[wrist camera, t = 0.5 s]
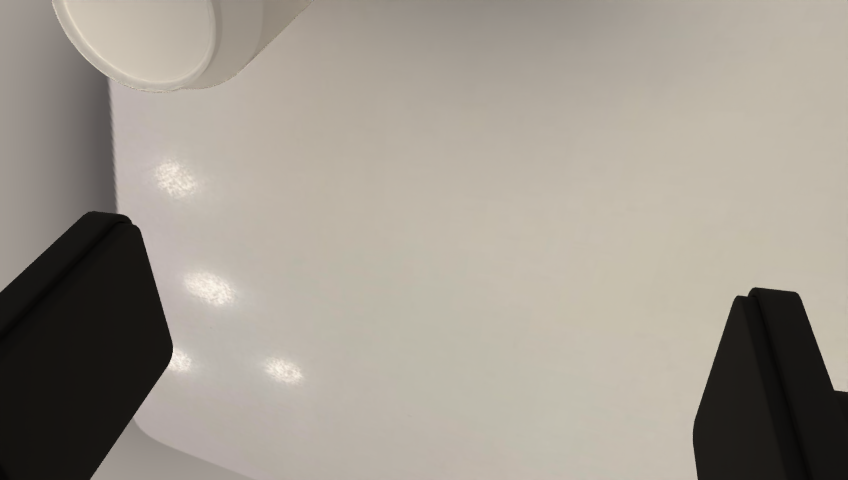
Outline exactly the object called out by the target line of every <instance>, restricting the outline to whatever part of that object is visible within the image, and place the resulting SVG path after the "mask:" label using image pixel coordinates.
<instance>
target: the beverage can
mask: <svg viewBox="0 0 848 480" xmlns="http://www.w3.org/2000/svg"><path fill="white" fill-rule="evenodd" d="M51 1H52V4H53V8H54V10H55V13H56V16H57V18H58V20H59V22H60V24H61V26H62V28H63V30H64V31H65V33H66V35H67V36H68V38H69V39H70V41H71V42H72V43H73V45H74V46H75V47H76V48H77V50H78V51H79V52H80V53H81V54H82V55H83V56H84V57H85V58H86V59H87V60H88V61H89V62H90V63H91V64H92V65H93V66H94V67H96V68H97V69H98V70H99V71H101V72H102V73H103V74H105V75H106V76H108V77H110V78H111V79H113V80H115V81H117V82H119V83H121V84H123V85H125V86H128V87H130V88H133V89H137V90H141V91H146V92H155V93H162V92H171V91H175V90H178V89H203V88H208V87H212V86H216V85H218V84H221V83H223V82H225V81H227V80H229V79H230V78H232V77H233V76H235V75H236V74H237V73H239V72H240V71H241V70H242V69H243V68H244V67H245V66H246V65H247V64H248V63H249V62H250V61H251V60H252V59H253V58H254V57H255V56H257V55H258V54H259V53H260V52H261V51H262V50H263V49H264V48H265V47H266V46H267V45H268V44H269V43H270V42H271V41H272V40H273V39H274V38H275V37H276V36H277V35H278V34H279V33H280V32H281V31H282V30H283V29H284V28H285V27H287V26H288V25H289V24H290V23H291V22H292V21H293V20H294V19H295V18H296V17H297V16H298V15H299V14H300V13H301V12H302V11H303V10H304V9H305V8H306V7H307V6H308V5H309V4H310V3H311V2H312V1H313V0H51Z"/></svg>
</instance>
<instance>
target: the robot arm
mask: <svg viewBox="0 0 848 480" xmlns="http://www.w3.org/2000/svg"><path fill="white" fill-rule="evenodd" d="M172 353H173V344H172V339H171V336H170V332H169V329H168V325H167V322H166V318H165V315H164V311H163V308H162V304H161V301H160V297H159V294H158V290H157V287H156V283H155V280H154V276H153V273H152V269H151V266H150V262H149V259H148V255H147V252H146V248H145V245H144V241H143V238H142V234H141V232H140V229H139V228H138V227H137V226H136V225H133V224H132V222H131V220H130V219H129V218H128V217H127V216H125V215H122V214H113V213H105V212H96V211H92V212H88V213H86V214H85V215H83V216H82V217H81V218H80V219H79V220H78V221H77V222H76V223H75V224H73V226H71V227H70V228H69V229H68V230H67V231H66V232H65V233H64V234H63V235H62V236H61V237H59V238H58V239H57V240H56V241H55V242H54V243H53V244H52V245H51V246H50V247H49V248H48V249H47V250H46V251H44V252H43V253H42V254H41V255H40V256H39V257H38V258H37V259H36V260H35V261H34V262H33V263H32V264H30V265H29V266H28V267H27V268H26V269H25V270H24V271H23V272H22V273H21V274H20V275H19V276H18V277H17V278H15V279H14V280H13V281H12V282H11V283H10V284H9V285H8V286H7V287H6V288H5V289H4V290H3V291H1V292H0V480H90V479H91V477H92V476H93V474H94V473H95V471H96V470H97V468H98V467H99V465H100V464H101V463H102V461H103V460H104V458H105V457H106V455H107V454H108V452H109V451H110V449H111V448H112V447H113V445H114V444H115V442H116V441H117V439H118V438H119V436H120V435H121V433H122V432H123V430H124V429H125V427H126V426H127V425H128V423H129V422H130V420H131V419H132V417H133V416H134V414H135V413H136V411H137V410H138V409H139V407H140V406H141V404H142V403H143V401H144V400H145V398H146V397H147V395H148V394H149V392H150V391H151V390H152V388H153V387H154V385H155V384H156V382H157V381H158V379H159V378H160V376H161V375H162V373H163V372H164V371H165V369H166V368H167V366H168V364H169V363H170V360H171V357H172ZM693 447H694V454H695V462H696V469H697V476H698V480H848V392H843V391H835V390H834V389H833V386H832V383H831V380H830V378H829V375H828V372H827V369H826V367H825V364H824V361H823V358H822V356H821V353H820V350H819V347H818V345H817V342H816V339H815V336H814V334H813V331H812V328H811V325H810V322H809V320H808V317H807V314H806V311H805V309H804V306H803V303H802V300H801V298H800V296H799V294H798V293H796V292H792V291H783V290H774V289H765V288H757V287H755V288H752V290H751V291H750V292H749V294H748V297H747V296H736V298H735V299H734V301H733V304H732V307H731V310H730V313H729V316H728V319H727V322H726V325H725V329H724V332H723V335H722V338H721V341H720V344H719V347H718V350H717V353H716V356H715V359H714V362H713V365H712V368H711V372H710V375H709V378H708V381H707V384H706V387H705V390H704V393H703V396H702V399H701V402H700V405H699V408H698V411H697V414H696V418H695V421H694V427H693Z"/></svg>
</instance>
